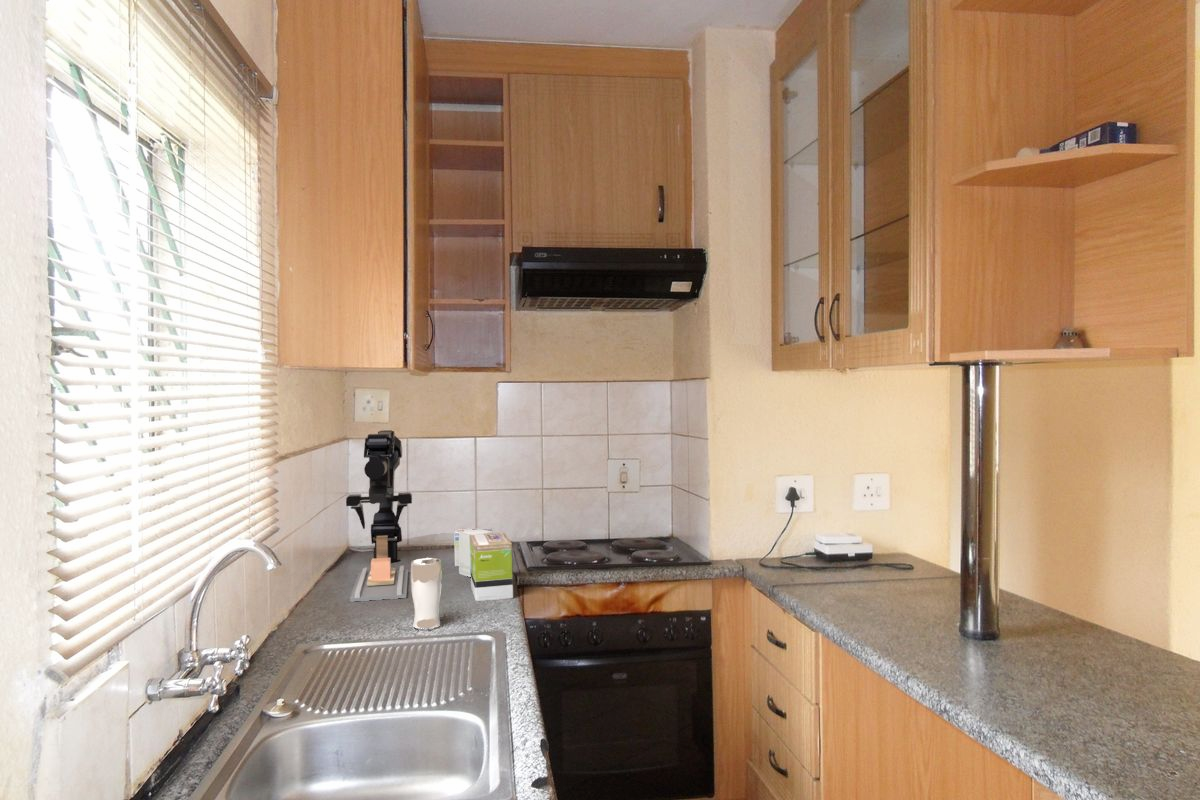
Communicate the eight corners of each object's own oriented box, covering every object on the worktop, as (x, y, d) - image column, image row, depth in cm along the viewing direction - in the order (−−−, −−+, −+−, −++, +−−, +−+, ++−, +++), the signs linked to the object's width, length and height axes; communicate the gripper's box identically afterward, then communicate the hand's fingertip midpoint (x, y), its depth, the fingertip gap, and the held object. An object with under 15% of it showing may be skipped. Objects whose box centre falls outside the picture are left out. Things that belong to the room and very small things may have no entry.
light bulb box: (493, 562, 244) (492, 527, 244) (488, 567, 237) (487, 531, 237) (459, 561, 245) (459, 527, 245) (453, 566, 239) (453, 531, 238)
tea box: (469, 588, 212) (468, 533, 212) (506, 585, 215) (505, 531, 214) (474, 602, 197) (473, 544, 197) (514, 599, 200) (513, 541, 200)
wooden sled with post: (370, 572, 226) (370, 534, 226) (395, 571, 227) (395, 533, 227) (367, 585, 210) (366, 545, 210) (393, 584, 212) (393, 543, 212)
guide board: (358, 575, 228) (358, 568, 228) (408, 572, 231) (408, 565, 231) (349, 602, 199) (349, 593, 199) (406, 598, 202) (406, 589, 202)
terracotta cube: (372, 576, 217) (372, 558, 217) (390, 575, 218) (390, 557, 218) (371, 580, 212) (370, 562, 212) (390, 579, 213) (389, 561, 213)
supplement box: (471, 578, 223) (471, 534, 223) (458, 574, 228) (457, 531, 228) (493, 574, 228) (493, 531, 228) (479, 570, 233) (479, 528, 233)
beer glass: (415, 622, 180) (414, 557, 180) (445, 622, 180) (444, 557, 180) (407, 631, 174) (406, 564, 173) (438, 631, 173) (437, 564, 173)
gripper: (344, 479, 223) (344, 534, 223) (411, 477, 227) (411, 531, 227) (347, 475, 234) (348, 527, 234) (411, 473, 238) (412, 524, 238)
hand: (380, 528), depth 233 cm, fingers open, 9 cm apart
